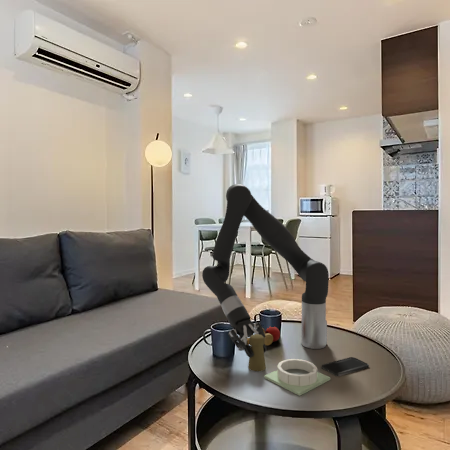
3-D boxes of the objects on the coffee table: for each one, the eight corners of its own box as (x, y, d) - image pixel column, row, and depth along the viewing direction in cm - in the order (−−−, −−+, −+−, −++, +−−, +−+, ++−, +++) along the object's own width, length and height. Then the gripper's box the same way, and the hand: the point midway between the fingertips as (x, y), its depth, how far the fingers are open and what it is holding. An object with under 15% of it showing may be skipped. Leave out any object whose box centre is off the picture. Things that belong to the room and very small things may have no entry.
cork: (267, 371, 117) (267, 338, 117) (249, 371, 117) (249, 339, 116) (264, 363, 123) (264, 332, 123) (246, 363, 123) (246, 332, 122)
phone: (370, 365, 119) (336, 374, 113) (370, 368, 119) (336, 377, 113) (352, 356, 126) (319, 364, 120) (352, 359, 126) (319, 368, 120)
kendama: (246, 355, 133) (285, 340, 141) (243, 338, 134) (282, 324, 142) (237, 351, 140) (275, 337, 148) (234, 335, 141) (271, 322, 149)
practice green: (295, 364, 122) (295, 353, 121) (330, 379, 111) (330, 367, 111) (264, 378, 112) (264, 366, 112) (299, 395, 101) (299, 382, 101)
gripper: (224, 309, 121) (248, 354, 112) (254, 302, 130) (279, 343, 121) (215, 320, 125) (237, 365, 117) (245, 313, 134) (267, 353, 126)
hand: (258, 354), depth 119 cm, fingers open, 5 cm apart
